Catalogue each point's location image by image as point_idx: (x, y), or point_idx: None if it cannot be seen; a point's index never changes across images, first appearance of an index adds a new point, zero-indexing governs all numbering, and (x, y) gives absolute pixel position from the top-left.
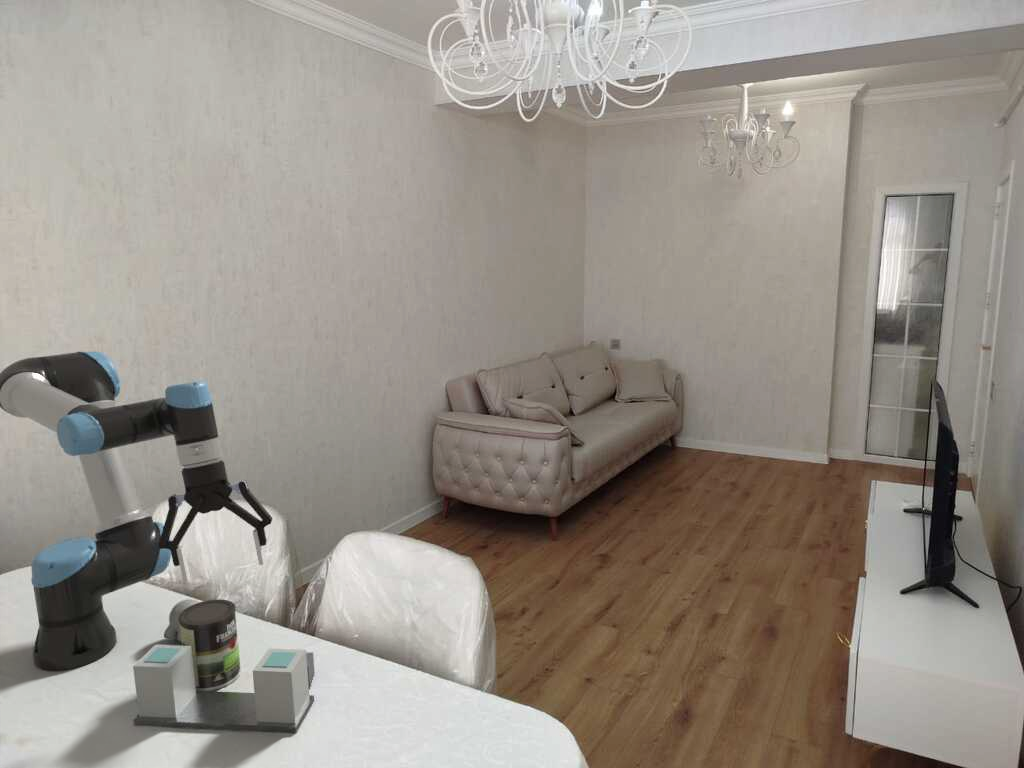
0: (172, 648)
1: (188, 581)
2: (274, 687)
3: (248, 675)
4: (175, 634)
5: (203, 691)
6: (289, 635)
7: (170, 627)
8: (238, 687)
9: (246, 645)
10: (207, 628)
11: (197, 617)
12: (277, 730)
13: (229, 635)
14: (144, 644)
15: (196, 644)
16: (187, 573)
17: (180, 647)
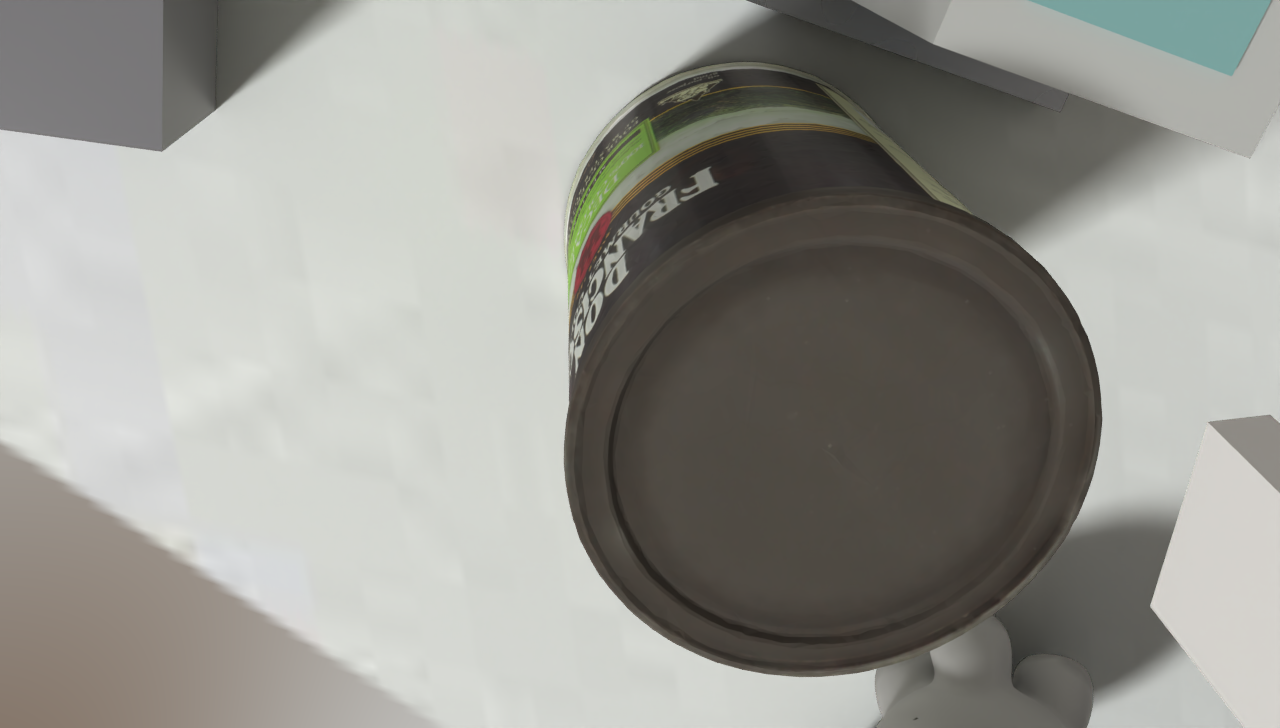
0: (1103, 23)
1: (1197, 459)
2: None
3: (507, 191)
4: (1022, 680)
5: (780, 6)
6: (303, 597)
7: (1066, 719)
8: (555, 60)
9: (570, 543)
10: (805, 189)
11: (922, 375)
12: None
13: (610, 249)
14: (1178, 677)
15: (885, 156)
16: (1260, 586)
17: (1029, 37)
